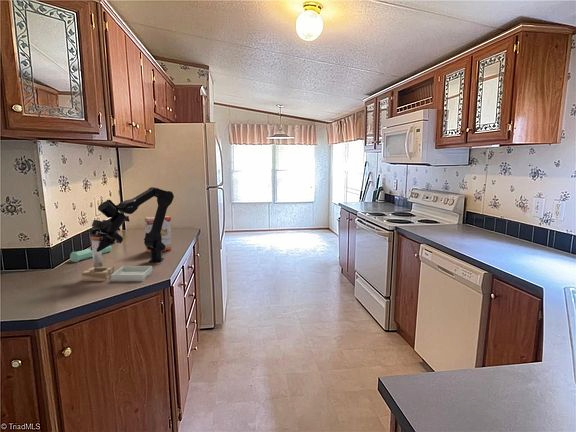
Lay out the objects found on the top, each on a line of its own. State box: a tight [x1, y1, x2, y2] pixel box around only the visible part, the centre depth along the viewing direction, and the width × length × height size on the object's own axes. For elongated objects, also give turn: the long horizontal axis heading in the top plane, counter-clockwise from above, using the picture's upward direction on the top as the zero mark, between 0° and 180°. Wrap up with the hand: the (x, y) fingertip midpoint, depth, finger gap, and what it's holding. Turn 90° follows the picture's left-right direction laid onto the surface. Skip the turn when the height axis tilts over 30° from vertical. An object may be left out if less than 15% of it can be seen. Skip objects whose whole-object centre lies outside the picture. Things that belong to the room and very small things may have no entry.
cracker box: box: [144, 215, 172, 254], centre depth 212 cm, size 14×6×21 cm, turn 126°
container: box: [69, 245, 113, 263], centre depth 199 cm, size 6×6×25 cm
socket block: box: [81, 266, 115, 282], centre depth 163 cm, size 10×10×4 cm
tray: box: [110, 265, 153, 282], centre depth 165 cm, size 14×14×3 cm
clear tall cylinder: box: [89, 235, 104, 267], centre depth 161 cm, size 5×5×14 cm
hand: (94, 250), depth 160 cm, fingers closed on clear tall cylinder, 4 cm apart
